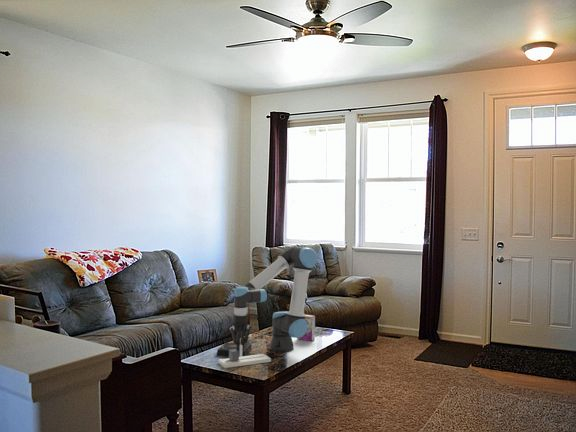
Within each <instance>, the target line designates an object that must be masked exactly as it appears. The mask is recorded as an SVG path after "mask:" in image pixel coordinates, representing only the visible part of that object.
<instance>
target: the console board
mask: <svg viewBox="0 0 576 432" xmlns="http://www.w3.org/2000/svg"><path fill="white" fill-rule="evenodd" d="M271 362H272V358H271V357H270V356H268V355H266V354H265V353H258V354H251V355H246V356H242V357H239V360H237V361H231V360H230V359H229V357H227V358H220V359H218V364H219V365H220V366H222V367H223V368H224V369H228V368H234V367H235V368H237V367H242V366H250V365H255V364H257V365H258V364H264V363H271Z"/></svg>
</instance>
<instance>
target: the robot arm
mask: <svg viewBox="0 0 576 432" xmlns="http://www.w3.org/2000/svg"><path fill="white" fill-rule="evenodd" d="M317 262H318V256H317V254H316V251H315V250H314V249H313V248H311V247H304V246H303V247H302V246H297V245H296V246H292V247H290V248H288V249H286V250H285V251H284V252H282V253H280V254H279V255H278V256H277V259H275V261H273V262H272V263H270V265H268V266H267V267H266V268H264V270H262V271H260V273H259V274H257V275H256V276H255V277H253V279H251V280H250V281H249V282H247V283H246V284H244V285H240V286H236V287H234V294H233V297H234V298H233V300H234V301H233V305H234V306H233V314H234V315H233V324H232V326H231V327H229V330H230V333H231V338H232V343H234V344H236V345H237V350H238V351H239V357H242V350H244V345H245V344H248V340H249V336H250V331H251V330H252V326H251V325H249V323H248V315H247V314H248V308H249V307H248V305H249V304H256V303H263V302H266V301H267V300H268V299H267V298H268V294H267V290H265V289H264V288H263V287H264V286H266V285H267V284H268V283H269V282H271V281H272V280H273V279H274V278H276V277H277V276H278V275H279V274H280V273H281V272H283V271H284V270H285V269H289V268H291V267H292V269H293V271H294V277H293V282H292V283H293V284H292V290H291V298H290V305H289V311H285V310H284V311H276V312H273V313H272V318H271V319H272V335H271V339H270V342H269V345H268V346H269V350H270V351H272V352H273V351H274V352H280V353H281V352H282V353H283V352H290V351H293V350H294V346H295V345H294V341H293V339H292V338H295V339H297V338H300V337H302V336H303V335H305V333H306V332H307V329H308V324H307V322H306V321H305V315H306V314H305V312H304V311H305V305H306V304H305V303H306V299H307V298H306V297H307V289H308V282H309V275H310V273H311V272H312V271H313V268H314V267H315V265H317Z"/></svg>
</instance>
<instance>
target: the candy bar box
mask: <svg viewBox="0 0 576 432" xmlns="http://www.w3.org/2000/svg"><path fill="white" fill-rule="evenodd" d="M305 321H306V322H307V324H308V329H307V332H306V333H305V335H303V336H302V337H300V338H296V339H297V340H300V341H308V342H313V341H315V339H316V338H315V337H316V336H315V334H316V316H315V315H312V314H305Z"/></svg>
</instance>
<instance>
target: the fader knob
mask: <svg viewBox="0 0 576 432" xmlns="http://www.w3.org/2000/svg"><path fill="white" fill-rule="evenodd" d="M228 358H229V359H230V360H231V361H237V360H239V351H238V350H236V349H232V350H229V356H228Z"/></svg>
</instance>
